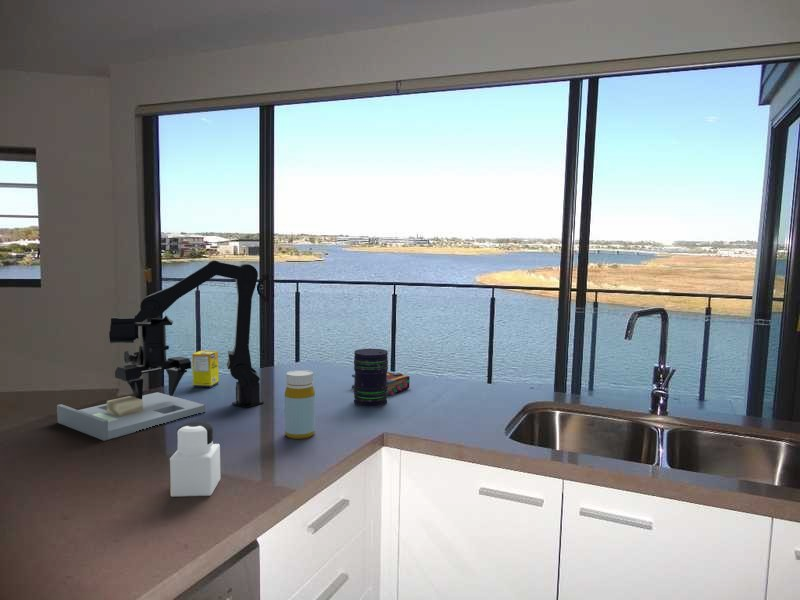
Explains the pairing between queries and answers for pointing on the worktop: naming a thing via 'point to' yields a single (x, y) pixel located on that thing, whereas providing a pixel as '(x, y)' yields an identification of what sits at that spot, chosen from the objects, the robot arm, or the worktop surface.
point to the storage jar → (370, 377)
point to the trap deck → (127, 416)
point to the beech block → (124, 406)
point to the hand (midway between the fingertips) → (155, 399)
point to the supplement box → (205, 369)
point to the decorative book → (394, 382)
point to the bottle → (299, 404)
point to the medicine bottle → (195, 461)
